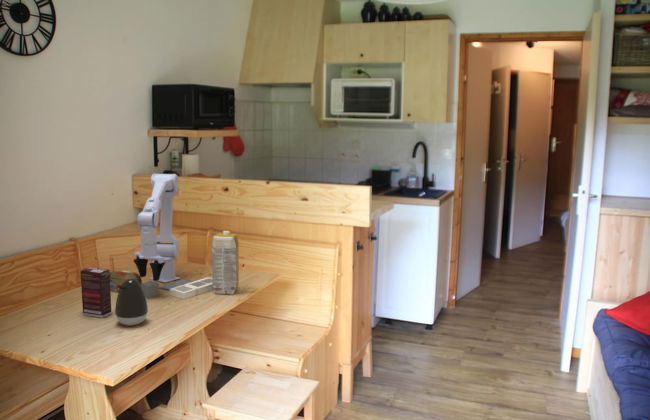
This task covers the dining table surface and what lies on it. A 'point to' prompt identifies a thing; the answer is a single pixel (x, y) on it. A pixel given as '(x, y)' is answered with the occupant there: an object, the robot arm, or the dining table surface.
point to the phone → (175, 284)
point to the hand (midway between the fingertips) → (149, 278)
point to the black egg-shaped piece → (131, 303)
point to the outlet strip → (192, 288)
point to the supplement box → (96, 292)
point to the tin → (121, 278)
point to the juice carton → (225, 263)
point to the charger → (150, 289)
